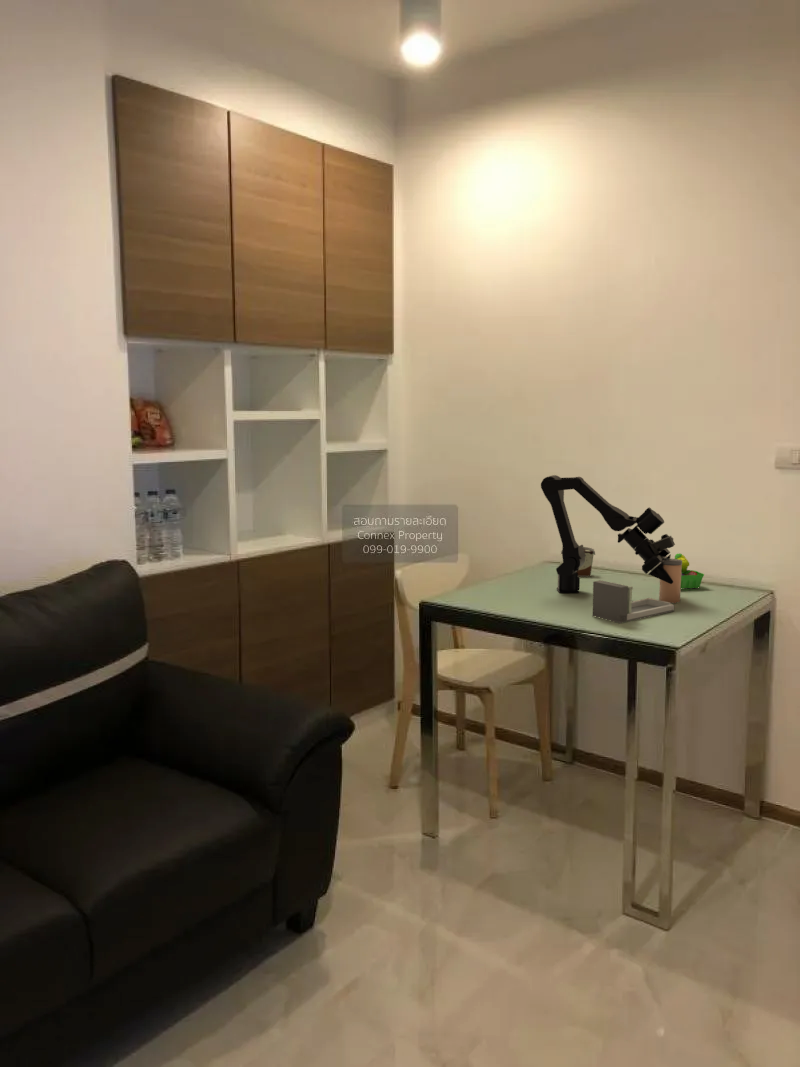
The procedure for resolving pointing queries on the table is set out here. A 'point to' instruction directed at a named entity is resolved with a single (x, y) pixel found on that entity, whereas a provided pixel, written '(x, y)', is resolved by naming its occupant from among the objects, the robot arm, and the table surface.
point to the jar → (673, 590)
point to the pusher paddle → (629, 598)
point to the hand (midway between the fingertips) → (674, 580)
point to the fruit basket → (689, 574)
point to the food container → (586, 562)
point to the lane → (623, 603)
